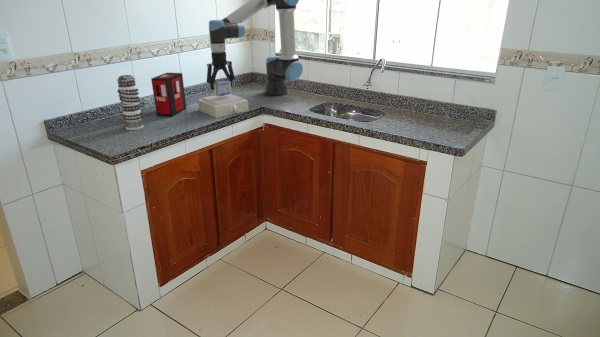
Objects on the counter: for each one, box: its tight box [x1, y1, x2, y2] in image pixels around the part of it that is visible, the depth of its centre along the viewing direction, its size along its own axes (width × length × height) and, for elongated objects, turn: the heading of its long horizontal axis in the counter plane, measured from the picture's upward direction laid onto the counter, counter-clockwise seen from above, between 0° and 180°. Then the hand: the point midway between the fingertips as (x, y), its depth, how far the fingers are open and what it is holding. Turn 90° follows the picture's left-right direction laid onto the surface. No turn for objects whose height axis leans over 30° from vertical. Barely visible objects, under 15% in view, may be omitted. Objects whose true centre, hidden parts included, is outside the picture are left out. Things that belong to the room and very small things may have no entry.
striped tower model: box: [116, 74, 144, 131], centre depth 192 cm, size 9×9×25 cm
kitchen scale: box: [197, 93, 250, 119], centre depth 221 cm, size 20×21×7 cm
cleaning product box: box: [151, 72, 187, 118], centre depth 217 cm, size 16×9×20 cm, turn 168°
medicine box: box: [214, 77, 231, 97], centre depth 218 cm, size 8×4×9 cm, turn 143°
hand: (222, 94), depth 219 cm, fingers closed on medicine box, 8 cm apart
